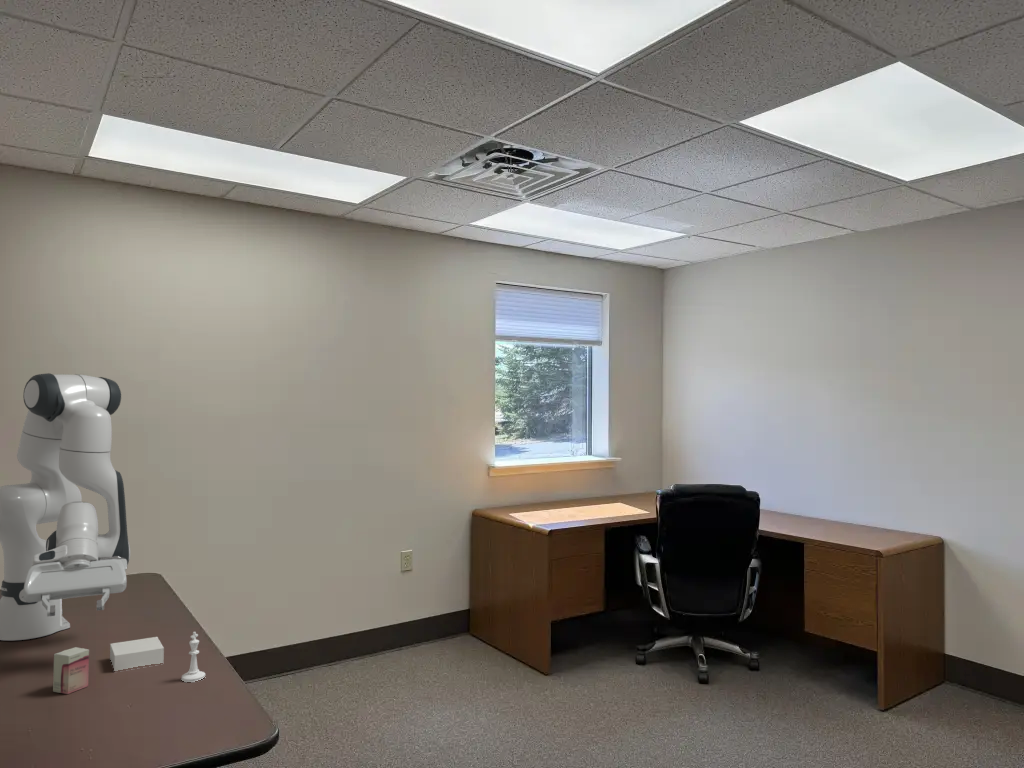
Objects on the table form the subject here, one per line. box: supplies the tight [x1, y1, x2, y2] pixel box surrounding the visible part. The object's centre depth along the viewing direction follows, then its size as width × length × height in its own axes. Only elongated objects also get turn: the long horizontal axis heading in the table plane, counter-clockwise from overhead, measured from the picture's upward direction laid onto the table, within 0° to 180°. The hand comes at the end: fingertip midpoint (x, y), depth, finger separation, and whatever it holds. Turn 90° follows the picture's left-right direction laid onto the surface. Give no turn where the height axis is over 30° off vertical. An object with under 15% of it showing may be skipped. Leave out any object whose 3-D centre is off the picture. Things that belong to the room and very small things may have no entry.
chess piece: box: [180, 631, 206, 683], centre depth 161 cm, size 5×5×10 cm
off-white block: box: [109, 636, 165, 672], centre depth 171 cm, size 10×10×4 cm
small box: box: [52, 646, 90, 695], centre depth 154 cm, size 5×4×8 cm
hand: (76, 611), depth 164 cm, fingers open, 8 cm apart
